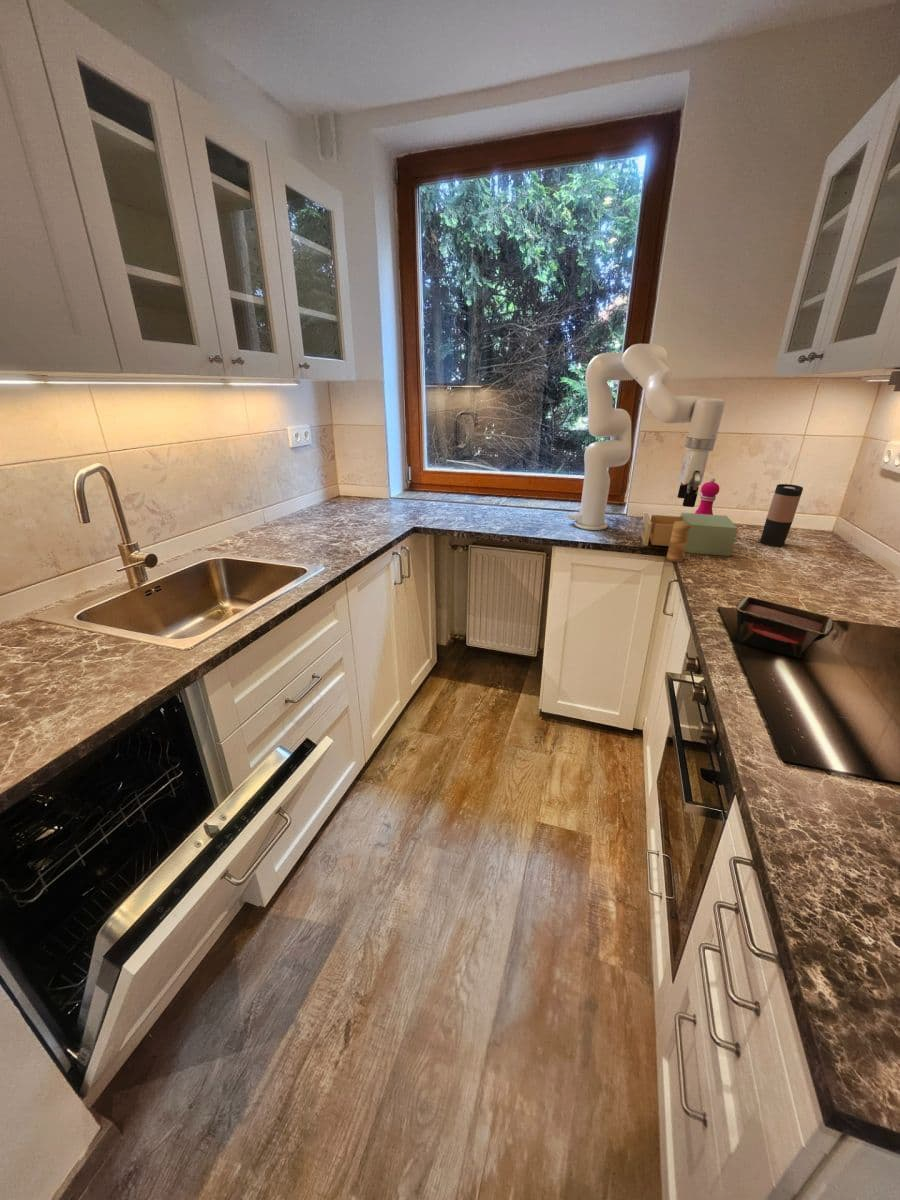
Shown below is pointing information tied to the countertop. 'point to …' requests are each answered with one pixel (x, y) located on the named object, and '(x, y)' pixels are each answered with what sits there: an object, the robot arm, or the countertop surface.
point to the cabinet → (710, 534)
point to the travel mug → (781, 514)
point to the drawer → (656, 529)
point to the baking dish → (779, 626)
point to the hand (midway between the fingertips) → (685, 502)
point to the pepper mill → (708, 497)
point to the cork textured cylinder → (678, 541)
